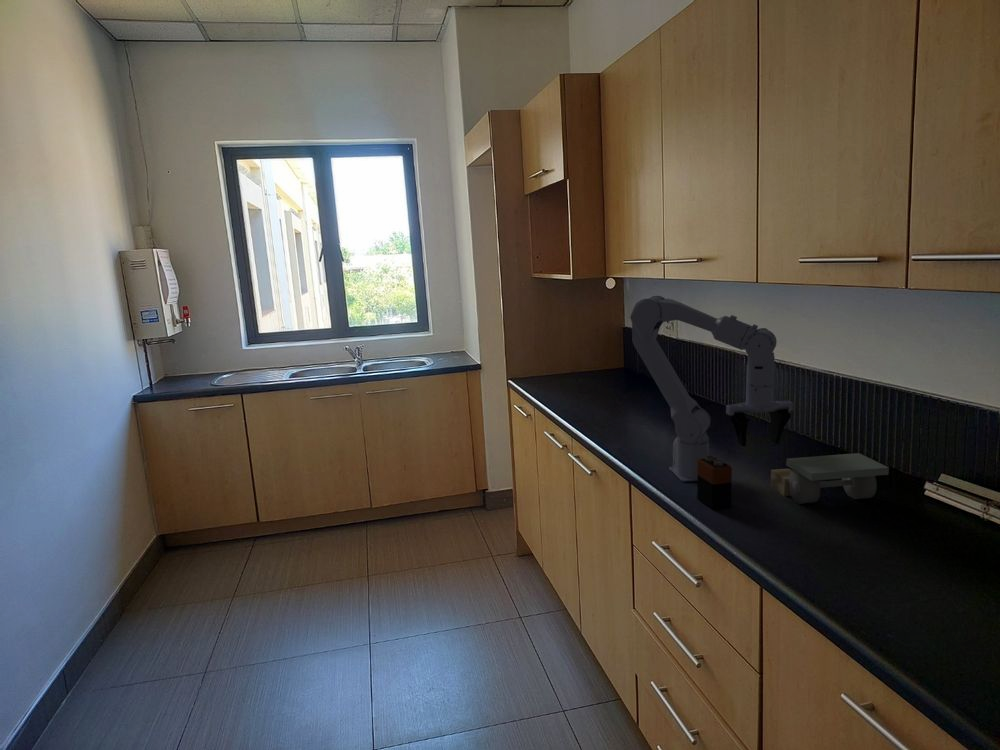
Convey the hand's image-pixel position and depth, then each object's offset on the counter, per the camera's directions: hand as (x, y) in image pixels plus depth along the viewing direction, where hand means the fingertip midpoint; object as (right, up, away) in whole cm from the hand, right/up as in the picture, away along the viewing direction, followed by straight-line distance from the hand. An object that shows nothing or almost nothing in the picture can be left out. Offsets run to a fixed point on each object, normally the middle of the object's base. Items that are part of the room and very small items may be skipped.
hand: (758, 443), depth 144 cm
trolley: (+12, -11, -11) cm, 19 cm away
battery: (-13, -12, -8) cm, 19 cm away
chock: (+5, -10, -3) cm, 12 cm away
